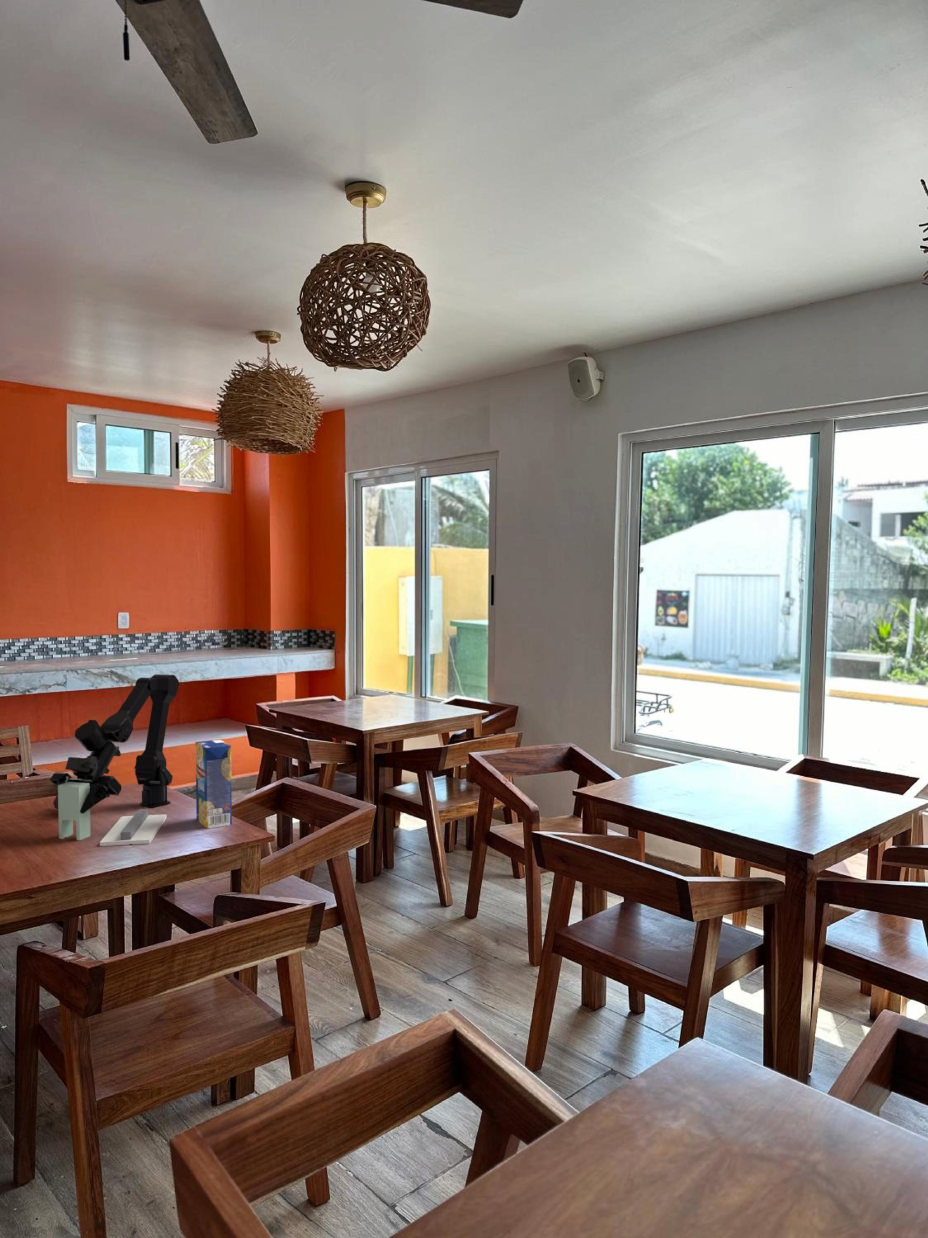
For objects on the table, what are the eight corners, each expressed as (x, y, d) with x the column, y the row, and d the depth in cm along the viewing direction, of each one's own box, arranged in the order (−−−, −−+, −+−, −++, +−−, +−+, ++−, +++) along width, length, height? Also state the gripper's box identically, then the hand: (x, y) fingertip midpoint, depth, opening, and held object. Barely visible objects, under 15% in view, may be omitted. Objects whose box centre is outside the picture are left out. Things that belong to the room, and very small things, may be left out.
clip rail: (121, 820, 232) (121, 809, 232) (166, 817, 234) (166, 807, 234) (99, 846, 209) (99, 834, 208) (149, 843, 211) (149, 832, 211)
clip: (69, 834, 219) (69, 781, 218) (90, 836, 217) (89, 783, 217) (58, 838, 215) (57, 785, 214) (79, 840, 213) (78, 786, 213)
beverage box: (220, 815, 237) (219, 739, 236) (232, 825, 227) (231, 745, 226) (196, 819, 233) (195, 742, 232) (206, 828, 224) (205, 748, 223)
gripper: (54, 742, 221) (23, 793, 211) (113, 746, 217) (85, 798, 206) (75, 765, 229) (46, 815, 219) (133, 769, 224) (106, 820, 214)
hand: (70, 811), depth 214 cm, fingers closed on clip, 6 cm apart
